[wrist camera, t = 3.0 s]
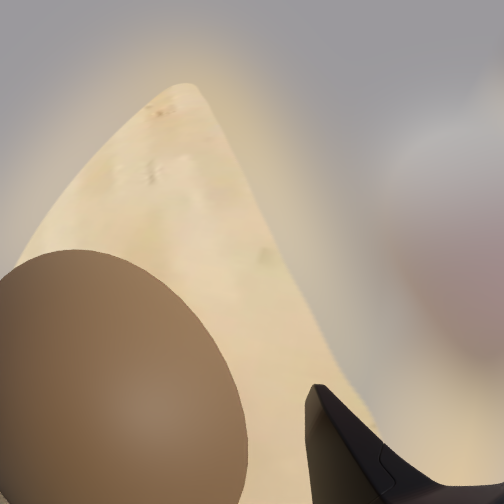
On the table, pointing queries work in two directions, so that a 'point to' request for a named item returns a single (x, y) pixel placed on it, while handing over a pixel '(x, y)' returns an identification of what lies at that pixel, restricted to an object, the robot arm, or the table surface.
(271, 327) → the table surface
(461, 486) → the robot arm
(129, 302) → the walnut pin
